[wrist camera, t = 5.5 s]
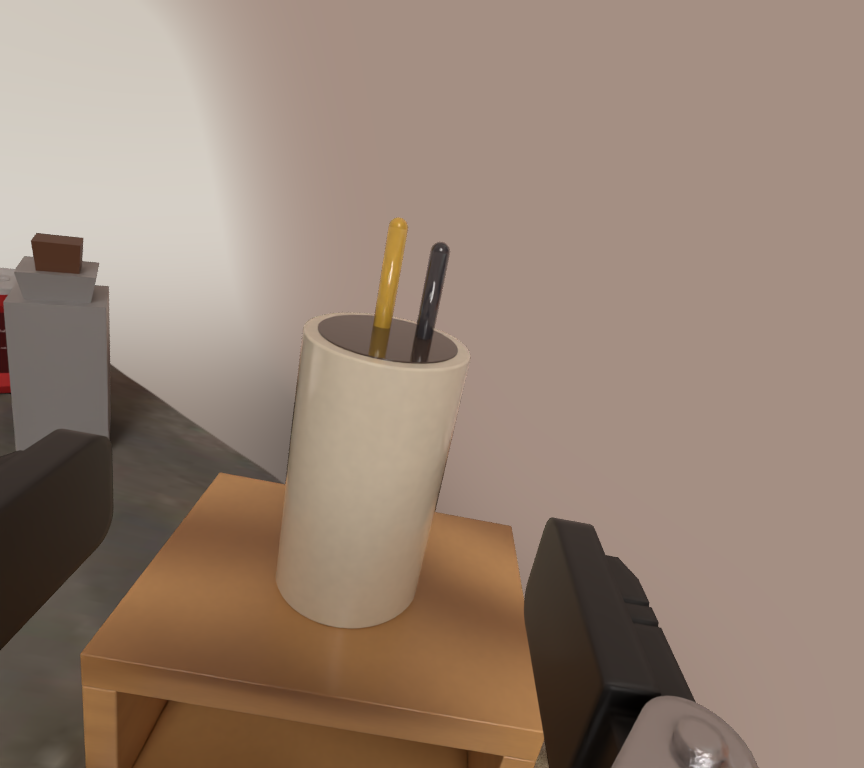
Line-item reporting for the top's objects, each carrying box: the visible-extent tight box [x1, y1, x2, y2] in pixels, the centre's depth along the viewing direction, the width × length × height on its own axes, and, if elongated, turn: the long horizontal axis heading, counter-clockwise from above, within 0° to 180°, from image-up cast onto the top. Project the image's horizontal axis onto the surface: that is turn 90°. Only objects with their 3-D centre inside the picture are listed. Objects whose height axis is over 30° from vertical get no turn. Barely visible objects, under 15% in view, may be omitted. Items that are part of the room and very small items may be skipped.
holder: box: [275, 218, 471, 629], centre depth 22 cm, size 6×6×15 cm
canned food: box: [0, 268, 17, 393], centre depth 57 cm, size 8×8×11 cm
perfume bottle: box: [3, 233, 111, 451], centre depth 48 cm, size 7×7×18 cm
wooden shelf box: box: [80, 473, 544, 768], centre depth 26 cm, size 12×16×12 cm
